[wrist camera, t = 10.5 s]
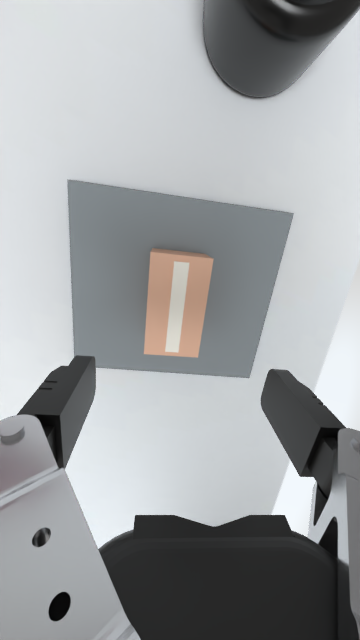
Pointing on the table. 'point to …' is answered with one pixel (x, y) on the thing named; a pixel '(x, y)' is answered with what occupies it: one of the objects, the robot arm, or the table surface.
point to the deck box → (176, 302)
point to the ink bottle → (270, 39)
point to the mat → (133, 274)
